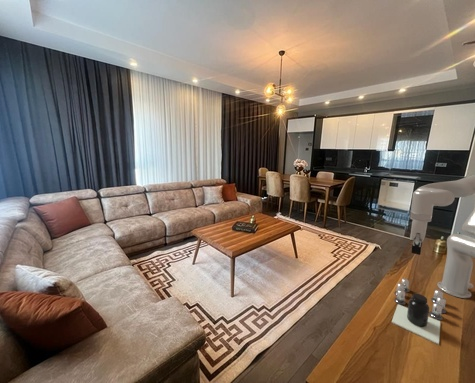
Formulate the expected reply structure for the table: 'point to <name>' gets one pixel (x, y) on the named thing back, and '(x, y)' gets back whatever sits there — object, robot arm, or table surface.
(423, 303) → the supplement bottle
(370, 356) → the table surface
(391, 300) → the table surface
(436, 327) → the sage pad
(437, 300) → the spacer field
